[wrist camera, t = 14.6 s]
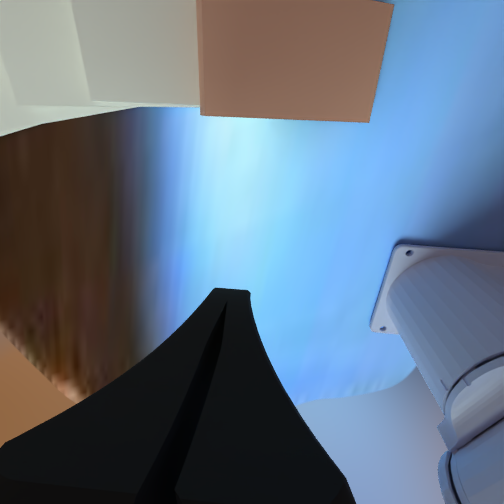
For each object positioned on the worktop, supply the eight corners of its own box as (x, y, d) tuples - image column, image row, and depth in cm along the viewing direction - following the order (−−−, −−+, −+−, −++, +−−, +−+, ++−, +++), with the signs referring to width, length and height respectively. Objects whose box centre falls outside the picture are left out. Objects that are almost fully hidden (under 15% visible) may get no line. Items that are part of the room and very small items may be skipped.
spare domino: (394, 4, 13) (200, -34, 10) (369, 122, 15) (205, 115, 13) (371, 14, 14) (195, -17, 12) (351, 121, 16) (200, 115, 14)
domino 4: (112, -14, 13) (-127, 2, 11) (148, 104, 16) (-38, 137, 13) (114, -3, 14) (-100, 13, 12) (147, 105, 17) (-23, 134, 15)
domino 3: (205, -12, 13) (-36, -50, 10) (212, 107, 15) (17, 105, 12) (198, -1, 14) (-17, -32, 11) (205, 107, 17) (28, 105, 14)
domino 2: (282, -11, 13) (57, -62, 10) (274, 108, 15) (90, 100, 12) (268, -1, 14) (66, -41, 11) (262, 108, 16) (94, 101, 13)
